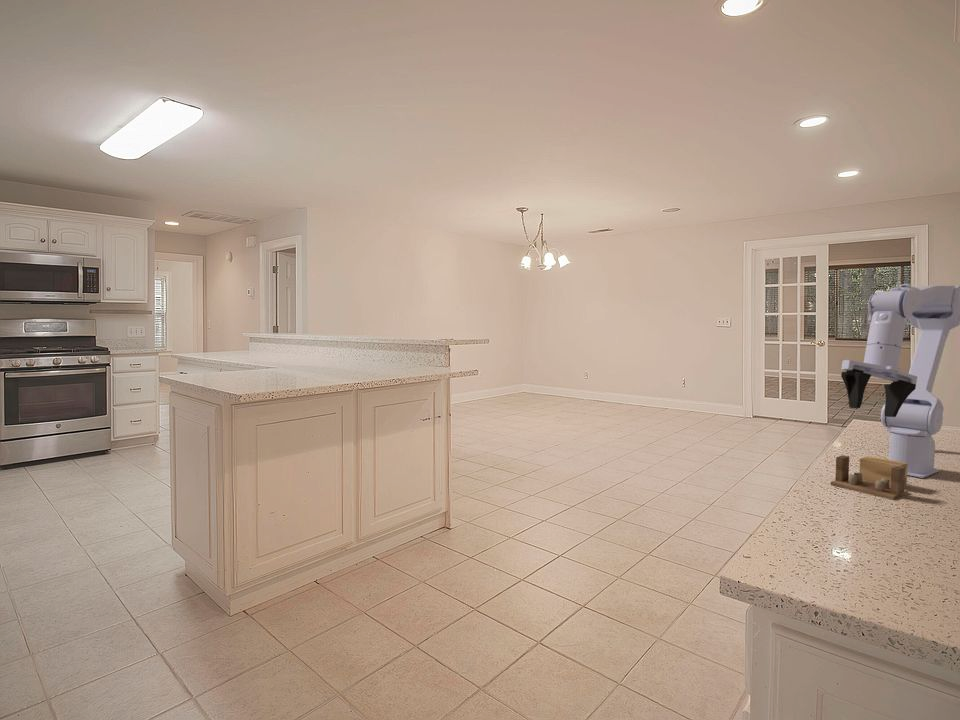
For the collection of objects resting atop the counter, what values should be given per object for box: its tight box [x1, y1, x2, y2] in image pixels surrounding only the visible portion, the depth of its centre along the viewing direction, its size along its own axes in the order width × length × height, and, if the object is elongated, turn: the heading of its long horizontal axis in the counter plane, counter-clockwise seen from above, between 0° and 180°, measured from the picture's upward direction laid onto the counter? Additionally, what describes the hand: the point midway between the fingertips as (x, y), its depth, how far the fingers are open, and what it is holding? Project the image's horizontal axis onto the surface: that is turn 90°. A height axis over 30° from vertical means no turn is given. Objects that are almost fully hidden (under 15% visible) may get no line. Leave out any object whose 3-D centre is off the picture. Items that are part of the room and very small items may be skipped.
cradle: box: [830, 454, 909, 501], centre depth 107 cm, size 7×11×6 cm, turn 32°
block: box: [859, 455, 908, 488], centre depth 111 cm, size 4×7×5 cm, turn 32°
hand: (872, 412), depth 106 cm, fingers open, 7 cm apart
